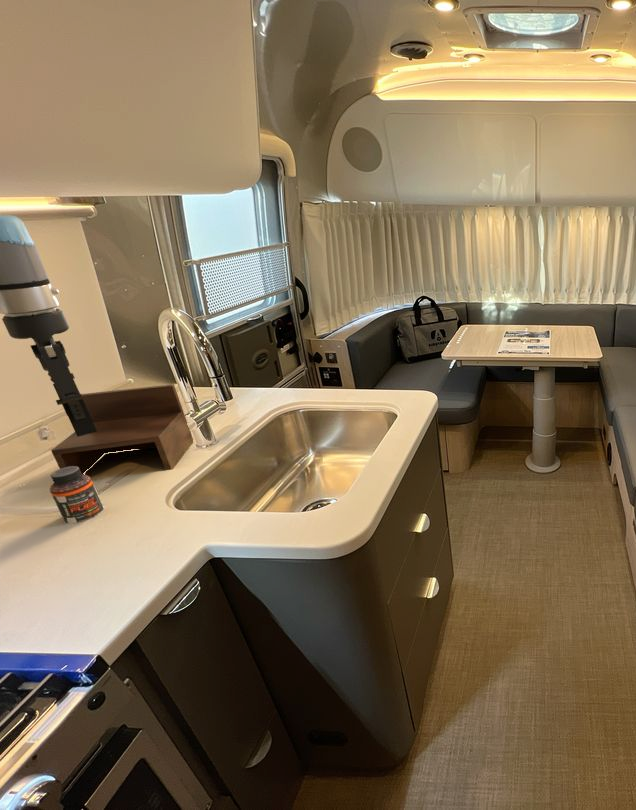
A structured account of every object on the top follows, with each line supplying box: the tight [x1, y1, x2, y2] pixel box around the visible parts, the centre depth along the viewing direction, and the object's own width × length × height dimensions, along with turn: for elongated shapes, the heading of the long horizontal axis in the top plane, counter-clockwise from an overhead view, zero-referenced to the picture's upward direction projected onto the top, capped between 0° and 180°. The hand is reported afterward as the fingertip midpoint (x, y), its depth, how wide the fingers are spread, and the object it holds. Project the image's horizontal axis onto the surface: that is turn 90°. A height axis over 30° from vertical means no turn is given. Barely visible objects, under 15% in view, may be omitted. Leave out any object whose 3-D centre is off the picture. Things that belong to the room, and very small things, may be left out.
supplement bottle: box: [49, 466, 105, 524], centre depth 93 cm, size 6×6×11 cm
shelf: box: [50, 384, 194, 474], centre depth 113 cm, size 15×20×16 cm
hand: (81, 423), depth 91 cm, fingers open, 13 cm apart
